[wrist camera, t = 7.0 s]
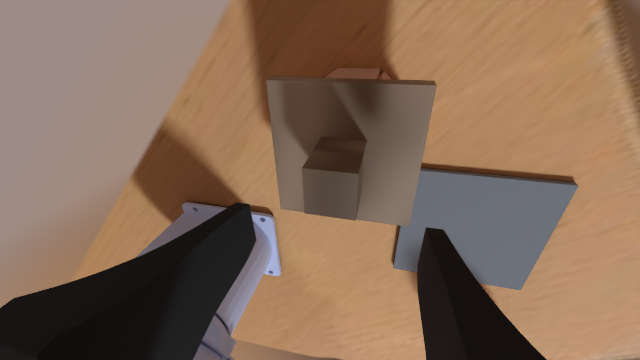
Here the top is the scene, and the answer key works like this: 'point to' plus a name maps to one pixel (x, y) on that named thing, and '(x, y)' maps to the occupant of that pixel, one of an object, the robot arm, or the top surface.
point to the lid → (349, 145)
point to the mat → (485, 221)
